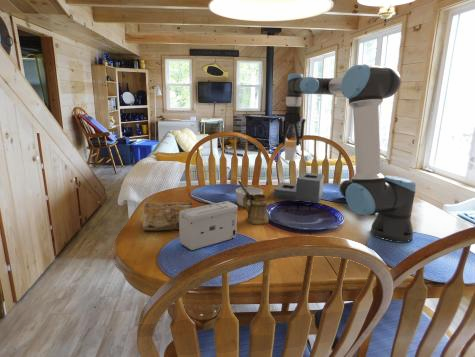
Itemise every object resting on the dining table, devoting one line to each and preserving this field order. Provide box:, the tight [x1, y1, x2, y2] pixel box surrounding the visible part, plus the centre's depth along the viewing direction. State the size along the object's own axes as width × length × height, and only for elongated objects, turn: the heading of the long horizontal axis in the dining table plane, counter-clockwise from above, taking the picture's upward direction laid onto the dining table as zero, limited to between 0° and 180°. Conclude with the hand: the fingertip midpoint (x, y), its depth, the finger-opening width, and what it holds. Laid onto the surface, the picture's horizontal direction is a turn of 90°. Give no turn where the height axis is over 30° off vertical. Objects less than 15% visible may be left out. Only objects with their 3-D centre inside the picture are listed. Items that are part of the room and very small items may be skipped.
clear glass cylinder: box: [284, 139, 297, 162], centre depth 173 cm, size 4×4×10 cm
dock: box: [273, 171, 325, 203], centre depth 175 cm, size 16×23×12 cm
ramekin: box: [235, 186, 264, 208], centre depth 163 cm, size 13×13×7 cm
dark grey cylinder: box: [338, 179, 376, 215], centre depth 164 cm, size 10×28×10 cm, turn 10°
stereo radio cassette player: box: [178, 194, 238, 251], centre depth 118 cm, size 21×8×20 cm, turn 127°
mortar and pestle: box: [237, 180, 269, 226], centre depth 139 cm, size 9×14×18 cm, turn 93°
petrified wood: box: [142, 201, 194, 232], centre depth 132 cm, size 19×13×10 cm
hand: (290, 151), depth 173 cm, fingers closed on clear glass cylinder, 4 cm apart
